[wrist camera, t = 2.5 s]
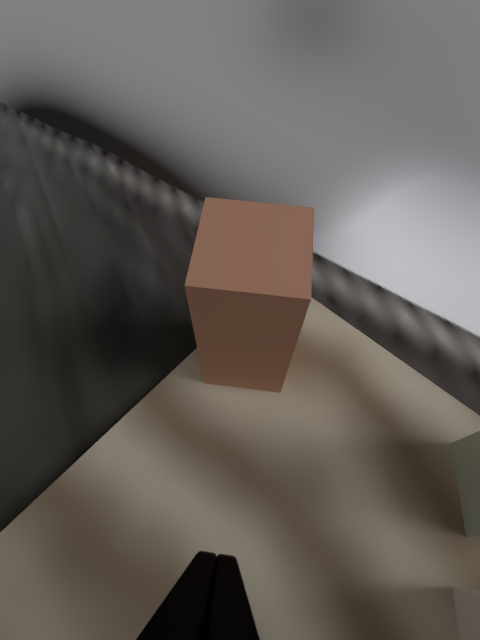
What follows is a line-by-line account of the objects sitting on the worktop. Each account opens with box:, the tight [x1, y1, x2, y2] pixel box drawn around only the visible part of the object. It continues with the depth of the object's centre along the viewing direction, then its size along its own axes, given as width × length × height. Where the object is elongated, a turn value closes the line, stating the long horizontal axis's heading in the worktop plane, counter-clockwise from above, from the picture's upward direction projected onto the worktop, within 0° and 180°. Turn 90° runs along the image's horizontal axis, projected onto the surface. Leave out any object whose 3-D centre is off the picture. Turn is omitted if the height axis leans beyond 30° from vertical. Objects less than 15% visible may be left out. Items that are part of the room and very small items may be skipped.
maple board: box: [0, 297, 480, 640], centre depth 18 cm, size 24×23×1 cm
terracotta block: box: [185, 197, 314, 393], centre depth 19 cm, size 4×4×10 cm
